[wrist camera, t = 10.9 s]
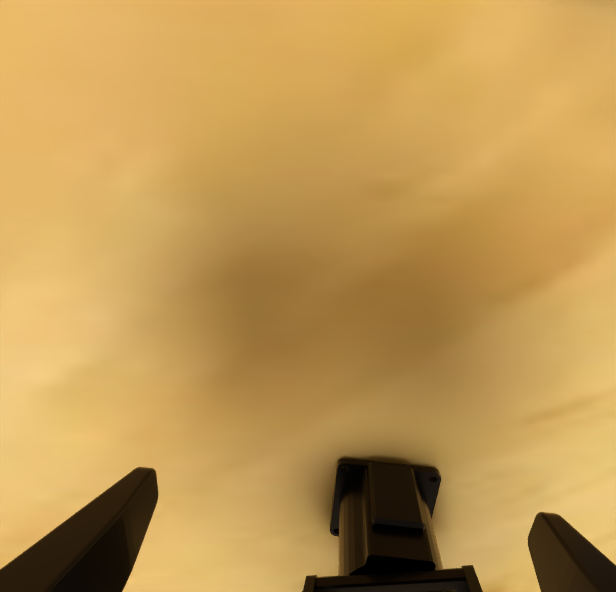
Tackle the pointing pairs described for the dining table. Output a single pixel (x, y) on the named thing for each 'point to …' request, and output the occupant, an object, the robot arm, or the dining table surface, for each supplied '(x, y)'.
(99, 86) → the dining table surface
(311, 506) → the dining table surface
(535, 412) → the dining table surface
